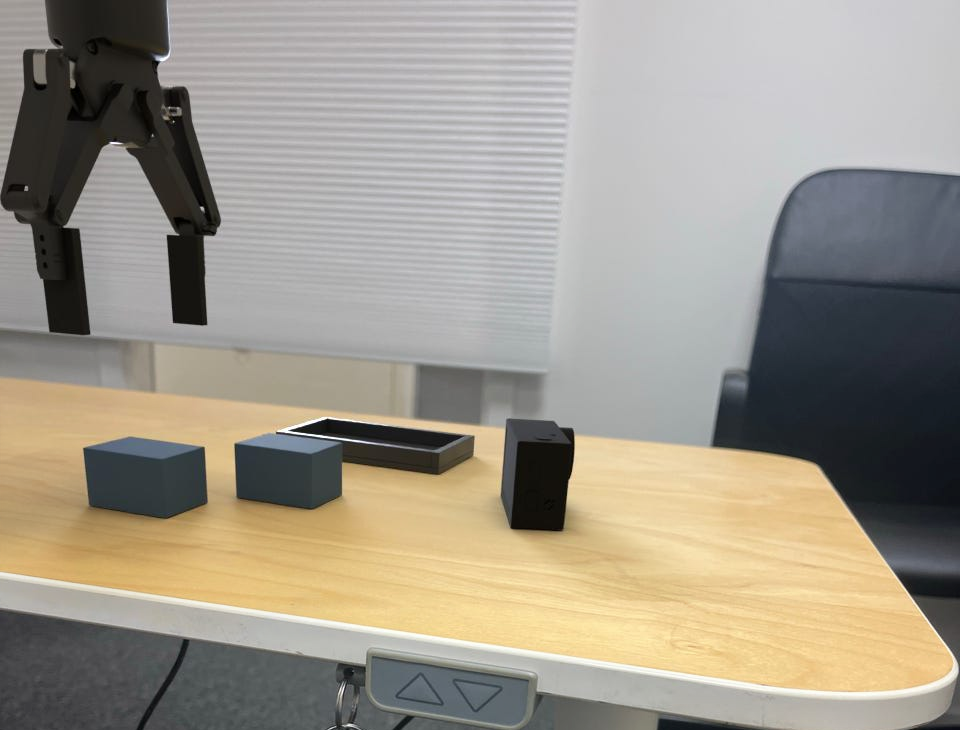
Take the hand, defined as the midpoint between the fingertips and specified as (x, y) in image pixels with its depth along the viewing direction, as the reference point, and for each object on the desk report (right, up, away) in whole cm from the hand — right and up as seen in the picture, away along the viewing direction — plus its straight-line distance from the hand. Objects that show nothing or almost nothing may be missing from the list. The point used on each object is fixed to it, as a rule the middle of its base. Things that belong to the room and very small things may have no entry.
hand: (135, 329), depth 68 cm
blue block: (-1, -12, +5) cm, 13 cm away
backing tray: (+15, -4, +28) cm, 32 cm away
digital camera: (+30, -12, +10) cm, 34 cm away
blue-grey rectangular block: (+9, -11, +10) cm, 17 cm away
